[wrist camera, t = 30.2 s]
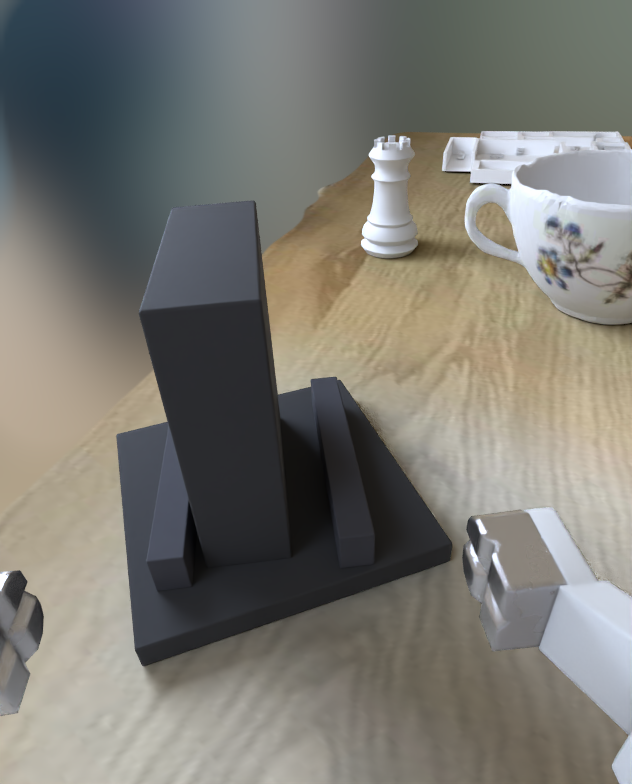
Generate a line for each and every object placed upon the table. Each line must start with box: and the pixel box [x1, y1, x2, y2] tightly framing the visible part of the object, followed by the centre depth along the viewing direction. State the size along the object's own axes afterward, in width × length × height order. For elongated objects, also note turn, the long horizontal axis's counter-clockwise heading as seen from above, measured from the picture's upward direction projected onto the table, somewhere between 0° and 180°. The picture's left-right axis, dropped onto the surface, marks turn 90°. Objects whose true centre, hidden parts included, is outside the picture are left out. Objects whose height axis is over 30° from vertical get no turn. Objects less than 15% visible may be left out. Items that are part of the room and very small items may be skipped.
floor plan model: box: [442, 131, 631, 184], centre depth 59 cm, size 19×25×2 cm
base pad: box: [116, 377, 452, 666], centre depth 22 cm, size 11×11×3 cm
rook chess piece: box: [361, 136, 418, 258], centre depth 42 cm, size 4×4×8 cm
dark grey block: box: [139, 201, 292, 568], centre depth 20 cm, size 8×3×10 cm, turn 6°
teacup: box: [465, 149, 632, 325], centre depth 33 cm, size 15×12×8 cm
